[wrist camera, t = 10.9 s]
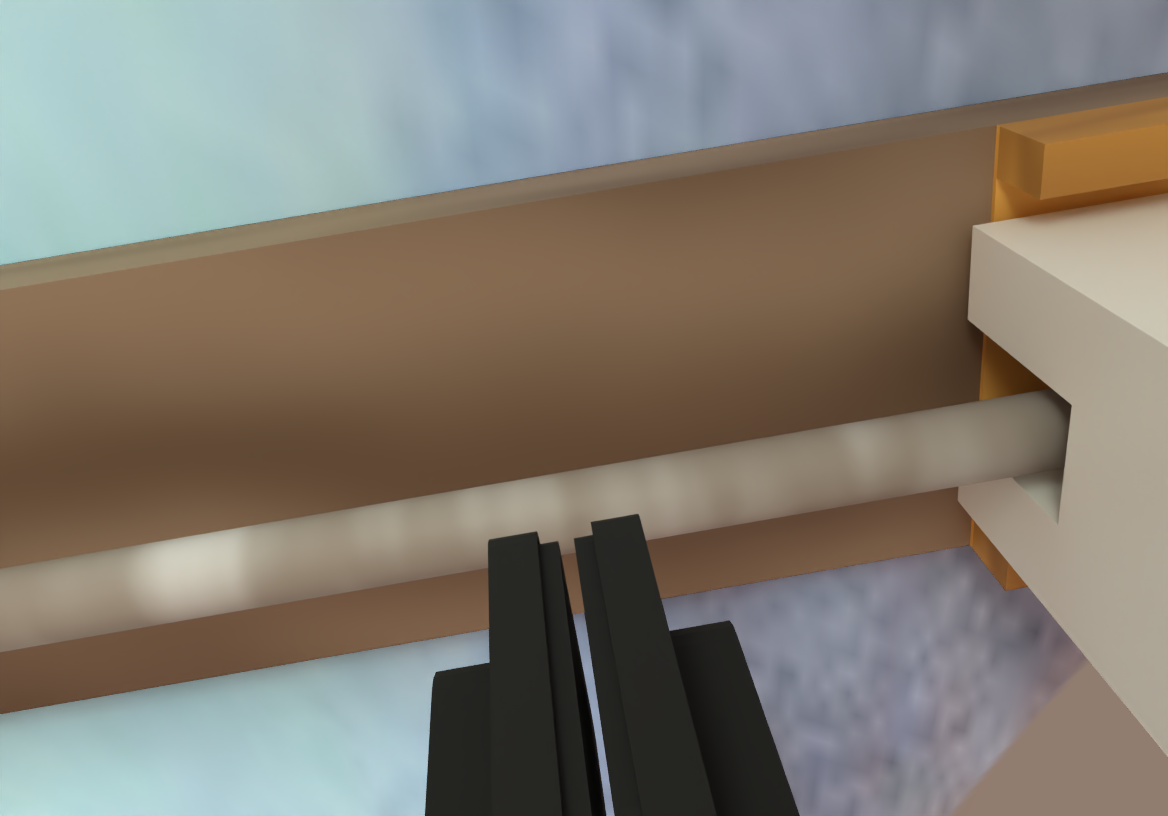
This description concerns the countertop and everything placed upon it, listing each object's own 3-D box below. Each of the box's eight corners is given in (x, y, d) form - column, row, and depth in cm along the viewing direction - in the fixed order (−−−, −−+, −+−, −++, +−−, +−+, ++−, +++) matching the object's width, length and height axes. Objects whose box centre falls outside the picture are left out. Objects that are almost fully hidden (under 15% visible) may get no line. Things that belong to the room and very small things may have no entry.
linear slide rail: (-707, 382, 15) (-1624, 736, 9) (1672, -11, 16) (2512, 37, 9) (-399, 734, 19) (-870, 1170, 12) (1520, 401, 20) (2045, 644, 13)
